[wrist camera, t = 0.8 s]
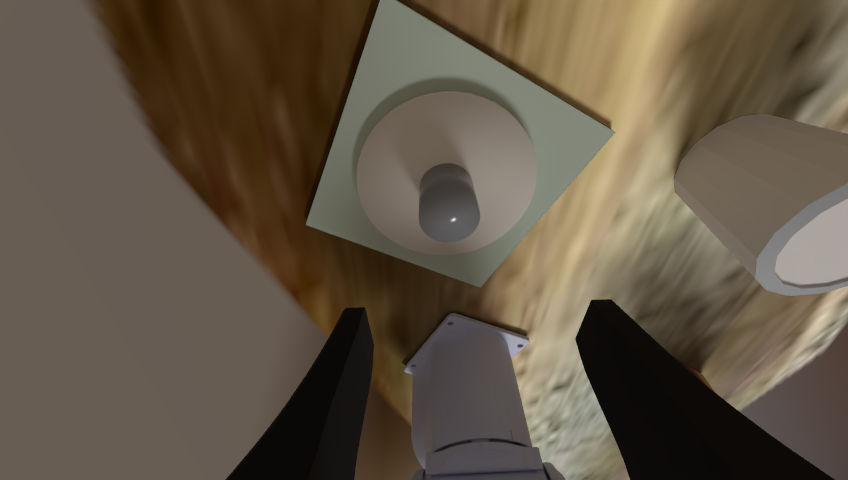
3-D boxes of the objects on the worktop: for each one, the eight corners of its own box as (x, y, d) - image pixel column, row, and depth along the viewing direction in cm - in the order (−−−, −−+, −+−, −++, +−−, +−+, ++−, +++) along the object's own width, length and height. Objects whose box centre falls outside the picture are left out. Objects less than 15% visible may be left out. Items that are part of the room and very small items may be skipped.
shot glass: (670, 125, 17) (788, 192, 12) (825, 81, 16) (1041, 132, 10) (655, 226, 21) (738, 310, 16) (777, 197, 20) (914, 278, 14)
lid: (473, 267, 23) (480, 308, 20) (335, 215, 20) (321, 253, 17) (573, 144, 17) (602, 176, 14) (401, 49, 14) (395, 64, 12)
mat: (479, 283, 24) (480, 287, 24) (307, 221, 21) (305, 224, 20) (611, 129, 17) (615, 132, 17) (383, -8, 13) (382, -8, 13)
